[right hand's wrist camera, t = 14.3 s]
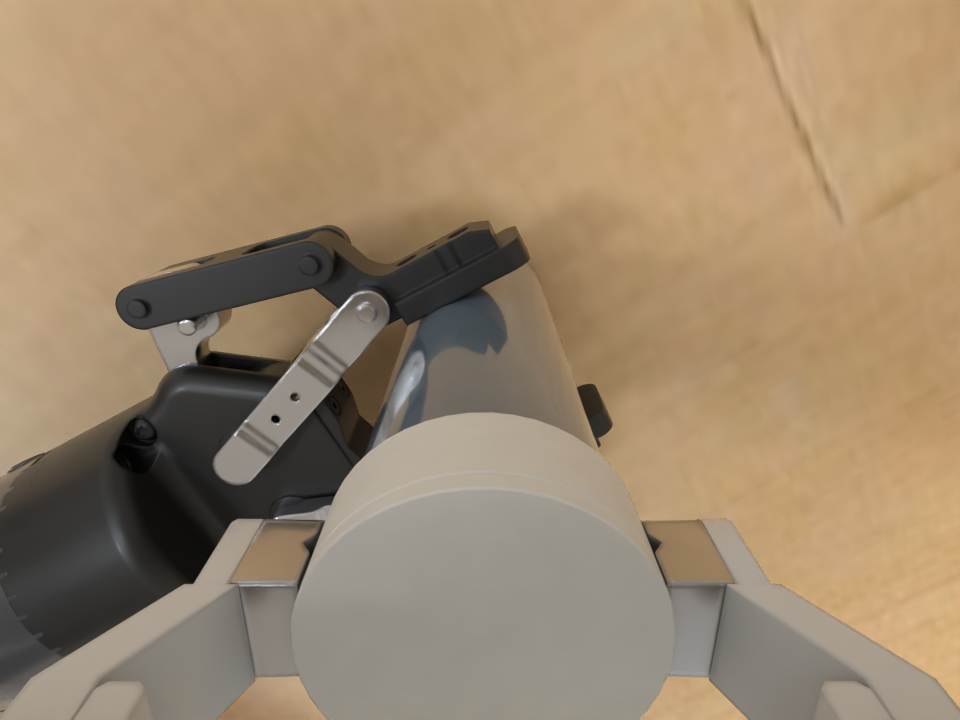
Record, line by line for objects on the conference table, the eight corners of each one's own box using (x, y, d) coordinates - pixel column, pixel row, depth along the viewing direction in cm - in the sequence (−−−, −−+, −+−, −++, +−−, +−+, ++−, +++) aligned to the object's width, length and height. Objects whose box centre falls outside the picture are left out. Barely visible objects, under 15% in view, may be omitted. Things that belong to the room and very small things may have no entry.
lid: (422, 703, 12) (410, 820, 10) (263, 493, 10) (211, 585, 8) (685, 604, 11) (729, 711, 9) (560, 355, 9) (582, 420, 7)
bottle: (395, 323, 24) (263, 652, 9) (462, 217, 23) (428, 414, 8) (498, 384, 25) (524, 771, 10) (569, 288, 24) (715, 579, 9)
